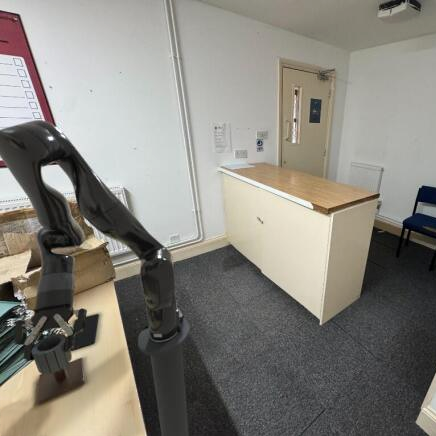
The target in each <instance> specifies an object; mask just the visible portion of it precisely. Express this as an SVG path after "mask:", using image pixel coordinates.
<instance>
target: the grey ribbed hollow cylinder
mask: <svg viewBox="0 0 436 436" xmlns="http://www.w3.org/2000/svg"><path fill="white" fill-rule="evenodd" d="M66 337H67V334H64V333H55V334H50V335H48V336H46V337H43V338H42V339H39V341H38V340H37V341H36V343H35V345H34V346H33V348H32V355H33V358H34V360H33V361H34V364H35V366H36V369H37V371H38V373H40V374H51V373H54V372H56V371H58V370H59V369H62V368H63V367H65V366H66V365H67V364H68V363H69V362H71V360H72V355H73V354H72V351H68V352H65V340H66Z"/></svg>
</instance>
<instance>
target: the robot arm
mask: <svg viewBox="0 0 436 436" xmlns="http://www.w3.org/2000/svg"><path fill="white" fill-rule="evenodd" d="M0 158H1V160H2V161H3V163H4V165H5V166H6V167H7V169H8V170H9V172H10V174H11V175H12V176H13V178H14V179H15V181H16V182H17V183H18V185H19V187H20V188H21V189H22V190H23V192H24V194H25V195H26V196H27V198H28V200H29V202H30V204H31V206H32V208H33V211H34V215H35V216H36V219H37V222H38V224H39V225H40V227H41V228H40V229H38V231H37V232H36V234H35V240H36V243H37V246H38V249H39V253H40V259H41V264H40V265H41V267H40V274H39V280H38V283H37V286H36V287H37V288H36V295H35V302H34V303H35V304H34V313H33V315H32V317H30V318H26V319H18V320H16V322H15V327H14V328H15V330H14V332H15V333H14V345H19V346H20V345H21V346H24V352H23V359H24V360H26V361H25V362H31V361H35V360H34V358H33V355H32V348H33V346H34V345H35V344H36V343H37V342H38V340H39V339H40V337H41V336H42V335H43V334H44V333H45V332H47V331H51V330H54V329H62V330H63V331H64V333H65V335H66V340H65V352H68V351H71V348H73V347H74V342H75V335H76V334H77V333H79V332H81V331H83V330H84V328H85V321H86V317H87V314H88V309H87V308H79V309H74V296H75V288H76V283H75V281H76V280H75V269H76V268H75V266H76V259H75V257H74V256H73V255H71V254H65V253H57V252H54V250H64V249H75V248H79V247H80V246H82V245H83V244H84V242H85V239H86V235H85V232H84V230H83V228H82V227H81V226H80V224H79V222H77V221H76V220H75V218H74V217H73V215H72V211H71V207H70V203H69V201H68V199H67V197H66V196H65V195H64V194H63V193H62V191H61V192H60V191H59V190H58V189H57V188H55V187H53V186H51V185H50V184H49V183H47V182H46V181H45V180H44V178H43V173H42V169H43V168H44V167H47V166H49V165H51V164H54V163H56V164H57V165H58V167H59V168H60V169H61V170H62V171H63V173H65V175H66V176H67V177H68V179H69V180H70V183H71V185H72V188H73V191H74V196H75V200H76V204H77V208H78V211H79V213H80V214H81V216H82V217H83V218H84V219H85V220H86V221H87V222H88V223H89V224H90V225H91V226H92V227H94V228H95V229H96V230H97V231H98V232H100V233H101V234H102V235H104V236H105V237H108V238H109V239H112V240H113V241H115V242H117V243H118V242H119V243H120V244H122V245H124V246H125V247H127V248H128V249H130V251H131V252H132V253H133V254H134V255H135V256H136V257H137V258H138V259H139V260H140V268H139V276H140V283H141V289H142V294H143V296H144V302H145V308H146V309H145V310H146V315H147V317H146V318H147V324H148V325H149V333H150V339H151V340H152V341H153V342H155V343H164V342H167V341H169V340H171V339H173V338H174V337H175V336H176V335H177V334H178V333H179V332H181V330H180V323H182V322H184V320H183V318H184V319H185V314H183V313H182V311H181V310H180V308H179V307H178V305H177V292H176V290H177V289H176V278H175V268H174V267H175V265H174V257H173V254H172V252H171V251H170V250H169V249H168V248H167V247H166V246H165V245H163V244H162V243H161V242H160V241H158V240H157V239H156V238H155V237H154V236H153V235H152V234H151V233H149V231H148V230H147V229H146V228H145V226H144V225H143V224H142V223H141V222H140V221H139V219H138V218H137V217H136V216H135V215H134V214H133V213H132V212H131V210H130V209H129V208H128V207H127V206H126V205H125V203H123V201H121V199H120V198H119V197H118V196H117V195H116V194H115V193H114V192H112V190H111V189H110V188H109V187H108V186H107V185H106V183H104V181H103V180H102V179H101V178H100V176H98V175H97V173H96V172H95V171H94V170H93V168H92V167H91V166H90V165H89V163H88V162H87V161H86V159H85V158H84V157H83V156H82V155H81V153H80V151H78V149H77V148H76V146H75V145H74V144H73V143H72V142H71V140H70V139H69V138H68V136H66V134H64V132H62V131H61V130H60V129H59V128H58V127H57V126H55V125H54V124H53V123H51V122H48V121H46V120H42V119H36V120H30V121H26V122H24V123H19V124H15V125H12V126H7V127H4V128H1V129H0ZM74 315H75V317H76V319H77V325H76V328H75V329H73V324H71V322H70V319H71V318H72V317H73V316H74ZM31 324H33V325H34V326H35V327H34V328H33V329H32V330H31V332H30V334H29V336H28V328H29V327H30V325H31ZM71 352H72V351H71Z"/></svg>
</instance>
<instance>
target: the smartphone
mask: <svg viewBox="0 0 436 436" xmlns="http://www.w3.org/2000/svg"><path fill="white" fill-rule="evenodd" d="M77 319H78V318H76V319H74V322H73V325H72V327H73V329H75V328H76V325H77ZM99 319H100V314H99V313H94V314H92V315H86V321H85V328H84V330H83V331H81V332H79V333H77V334H76V335H75V342H74V347H73V348H71V352H72V351H77V350H79V349H82V348H86V347H88V346H92V345H95V343H96V339H97V331H98V326H99V325H98V324H99Z"/></svg>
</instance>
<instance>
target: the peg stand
mask: <svg viewBox="0 0 436 436" xmlns="http://www.w3.org/2000/svg"><path fill="white" fill-rule="evenodd" d="M84 384H85V373H84V360H83V357H79V358H77V359H74V360H72V361H70V362H69V363H68V364H67V365H66V366H65V367H63V368H62V369H59V370H58V371H56V372H54V373H51V374H41V373H40V374H39V379H38V387H37V388H38V391H37V404H38V405H41V404H43V403H45V402H47V401H50V400H52V399H53V398H56V397H58V396H60V395H62V394H65V393H66V392H68V391H70V390H73V389H75V388H77V387H79V386H81V385H84Z"/></svg>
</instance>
